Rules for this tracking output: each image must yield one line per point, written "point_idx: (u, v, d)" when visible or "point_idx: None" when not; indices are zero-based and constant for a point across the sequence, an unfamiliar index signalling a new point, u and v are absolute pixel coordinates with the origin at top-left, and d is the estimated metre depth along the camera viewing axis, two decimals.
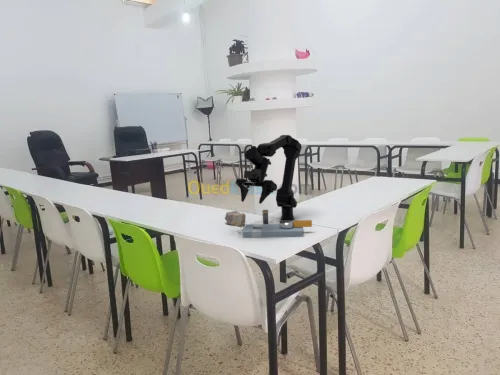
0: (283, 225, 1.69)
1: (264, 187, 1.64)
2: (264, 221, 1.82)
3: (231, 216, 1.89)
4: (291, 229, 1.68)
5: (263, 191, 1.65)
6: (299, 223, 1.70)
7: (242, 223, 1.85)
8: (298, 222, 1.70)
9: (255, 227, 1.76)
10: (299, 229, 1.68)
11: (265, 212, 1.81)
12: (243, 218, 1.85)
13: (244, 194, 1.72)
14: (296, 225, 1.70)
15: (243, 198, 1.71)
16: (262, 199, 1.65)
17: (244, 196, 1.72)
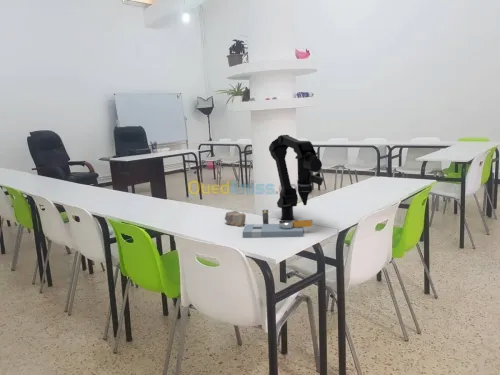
0: (283, 225, 1.69)
1: None
2: (264, 221, 1.82)
3: (231, 216, 1.89)
4: (291, 229, 1.68)
5: None
6: (299, 223, 1.70)
7: (242, 223, 1.85)
8: (298, 222, 1.70)
9: (255, 227, 1.76)
10: (299, 229, 1.68)
11: (265, 212, 1.81)
12: (243, 218, 1.85)
13: None
14: (296, 225, 1.70)
15: None
16: None
17: None
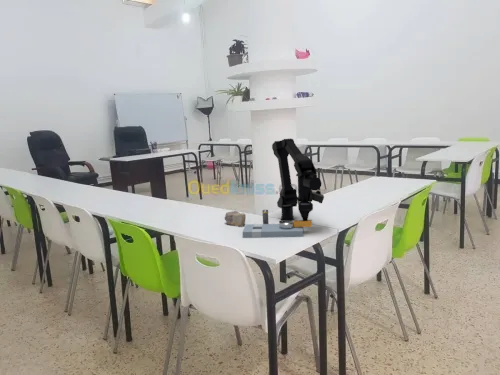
0: (283, 225, 1.69)
1: None
2: (264, 221, 1.82)
3: (231, 216, 1.89)
4: (291, 229, 1.68)
5: None
6: (299, 223, 1.70)
7: (242, 223, 1.85)
8: (298, 222, 1.70)
9: (255, 227, 1.76)
10: (299, 229, 1.68)
11: (265, 212, 1.81)
12: (243, 219, 1.85)
13: None
14: (296, 225, 1.70)
15: None
16: None
17: None
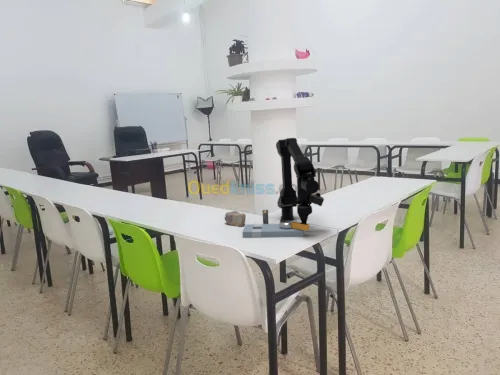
0: (280, 224, 1.70)
1: None
2: (264, 221, 1.82)
3: (231, 216, 1.89)
4: (291, 229, 1.68)
5: None
6: (296, 225, 1.67)
7: (242, 223, 1.85)
8: (295, 224, 1.67)
9: (255, 227, 1.76)
10: None
11: (265, 212, 1.81)
12: (243, 219, 1.85)
13: None
14: (293, 226, 1.68)
15: None
16: None
17: None
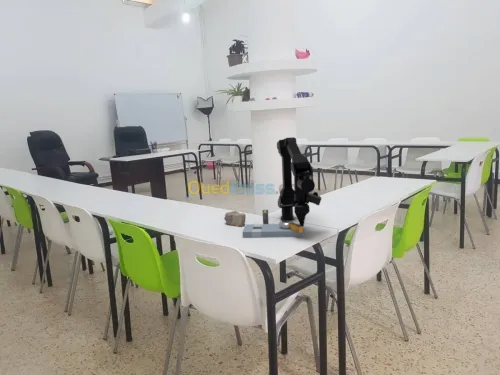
0: (279, 224, 1.71)
1: None
2: (264, 221, 1.82)
3: (231, 216, 1.88)
4: None
5: None
6: (291, 226, 1.66)
7: (242, 223, 1.85)
8: (291, 225, 1.66)
9: (255, 227, 1.76)
10: None
11: (265, 212, 1.81)
12: (243, 219, 1.85)
13: None
14: (290, 227, 1.68)
15: None
16: None
17: None
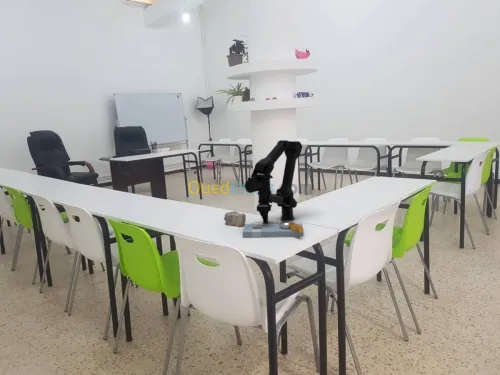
0: (279, 224, 1.71)
1: (271, 206, 1.85)
2: None
3: (231, 216, 1.88)
4: None
5: None
6: (291, 226, 1.66)
7: (242, 223, 1.85)
8: (291, 225, 1.66)
9: (255, 227, 1.76)
10: None
11: None
12: (243, 219, 1.85)
13: None
14: (290, 227, 1.68)
15: None
16: None
17: None
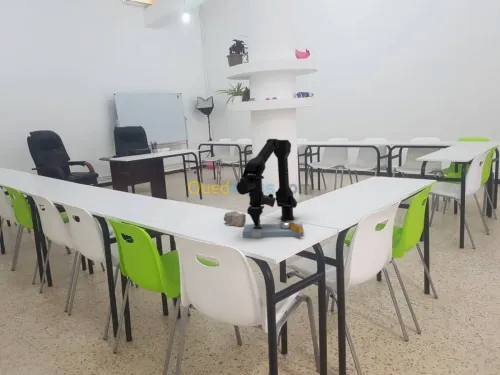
0: (279, 224, 1.71)
1: (263, 207, 1.76)
2: (256, 227, 1.72)
3: (231, 217, 1.88)
4: None
5: None
6: (291, 226, 1.66)
7: (242, 223, 1.85)
8: (291, 225, 1.66)
9: None
10: None
11: None
12: (243, 219, 1.85)
13: None
14: (290, 227, 1.68)
15: None
16: None
17: None
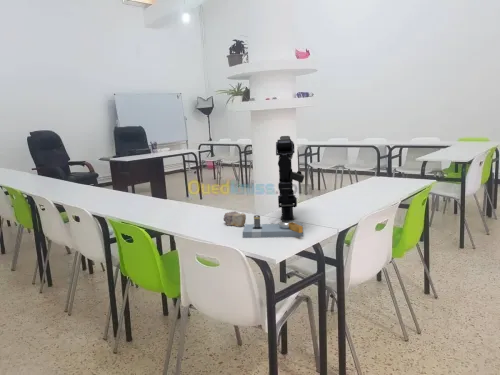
0: (279, 224, 1.71)
1: None
2: (256, 227, 1.72)
3: (230, 217, 1.88)
4: None
5: None
6: (291, 226, 1.66)
7: (242, 223, 1.85)
8: (291, 225, 1.66)
9: None
10: None
11: (257, 218, 1.71)
12: (243, 219, 1.85)
13: None
14: (290, 227, 1.68)
15: None
16: None
17: None
